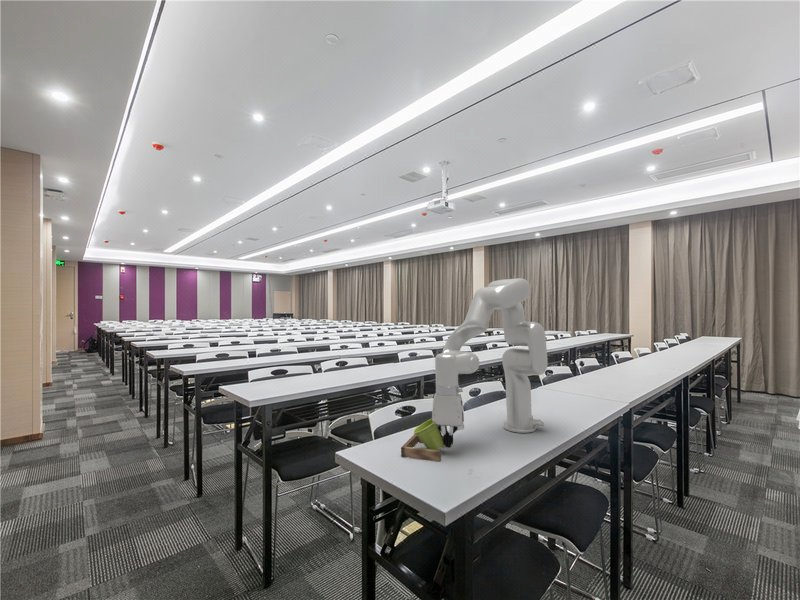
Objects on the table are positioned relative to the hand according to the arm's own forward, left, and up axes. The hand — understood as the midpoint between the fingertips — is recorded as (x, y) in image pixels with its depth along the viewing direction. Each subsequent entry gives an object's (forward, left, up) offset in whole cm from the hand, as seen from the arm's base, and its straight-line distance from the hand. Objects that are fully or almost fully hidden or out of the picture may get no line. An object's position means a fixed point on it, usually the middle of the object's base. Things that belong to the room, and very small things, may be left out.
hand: (448, 445), depth 121 cm
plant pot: (+4, 0, -1) cm, 4 cm away
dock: (+8, -1, -3) cm, 8 cm away
